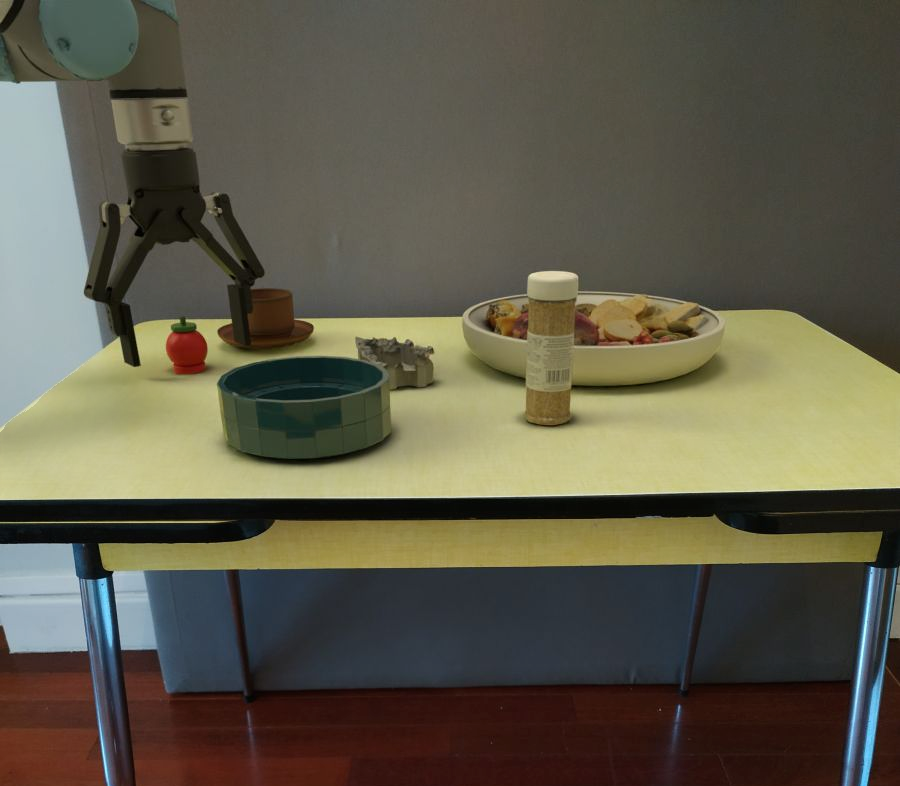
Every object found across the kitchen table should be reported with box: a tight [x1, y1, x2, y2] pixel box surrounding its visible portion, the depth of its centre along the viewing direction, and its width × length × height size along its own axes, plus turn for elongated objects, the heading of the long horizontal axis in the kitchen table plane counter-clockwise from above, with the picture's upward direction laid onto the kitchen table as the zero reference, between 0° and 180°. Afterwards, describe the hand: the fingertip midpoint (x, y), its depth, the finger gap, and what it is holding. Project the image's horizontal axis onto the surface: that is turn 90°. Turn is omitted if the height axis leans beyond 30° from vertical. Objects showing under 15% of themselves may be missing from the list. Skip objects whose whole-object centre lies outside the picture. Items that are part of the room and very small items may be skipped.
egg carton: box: [354, 336, 436, 391], centre depth 101 cm, size 11×8×4 cm
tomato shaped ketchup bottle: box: [165, 315, 209, 375], centre depth 103 cm, size 5×5×6 cm
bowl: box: [461, 291, 726, 387], centre depth 106 cm, size 30×30×8 cm
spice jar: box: [523, 270, 579, 426], centre depth 85 cm, size 5×5×13 cm
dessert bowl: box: [216, 355, 392, 460], centre depth 83 cm, size 15×15×6 cm
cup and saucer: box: [216, 287, 315, 350], centre depth 114 cm, size 12×12×6 cm
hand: (189, 353), depth 104 cm, fingers open, 13 cm apart
